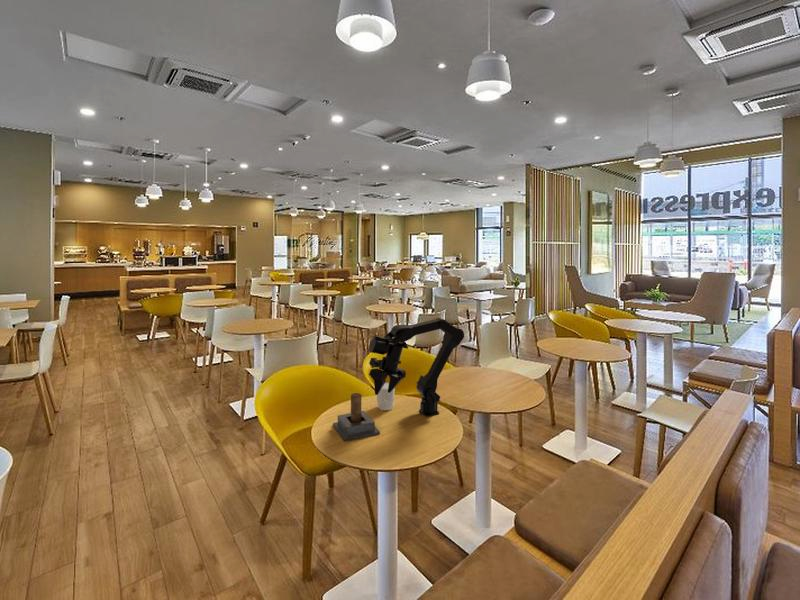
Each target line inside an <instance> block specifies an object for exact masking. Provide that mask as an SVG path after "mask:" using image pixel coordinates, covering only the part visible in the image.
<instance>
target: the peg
mask: <svg viewBox="0 0 800 600" xmlns="http://www.w3.org/2000/svg"><path fill="white" fill-rule="evenodd" d="M361 411H362V394H361V393H359V392H358V393H357V392H355V393H352V394H350V413H351V423H356V422H361Z"/></svg>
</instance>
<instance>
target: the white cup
mask: <svg viewBox="0 0 800 600" xmlns="http://www.w3.org/2000/svg"><path fill="white" fill-rule="evenodd" d="M388 387H389V382H385V384H384V385H383V387H382V389H381V390H380V392H379V393H378V395H376V400H377V401H376V402H377V409H378V408H379V409H378V410H380V409H381V410H380V411H383V410H388V411H392V410H393V409H394V402H395V388H396V387H395V388H394V389H393V390H392V391H391V392H390V393H389V392H388ZM392 408H393V409H392Z"/></svg>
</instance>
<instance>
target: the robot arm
mask: <svg viewBox="0 0 800 600" xmlns="http://www.w3.org/2000/svg"><path fill="white" fill-rule="evenodd" d="M437 330H441V331H442V332H443V333H444V334H443V336H442V345H441V347H440V348H439V351H438V353H437V354H436V356H435V358H434V361H433V362H432V364H431V366H430V368H429V370H428V372H427V373H426V374H425V375H422V374H421V375H420V376H419V379H418V381H417V382H416V391H417V392H418V393H419V395H420V397H422V398H421V401H420V403H419V404H420V408H419V410H418V411H419V412H420V413H422V414H423V415H424V416H426V417H430V416H435V415H439V414H440V412H439V410H438V406H439V402H440V400H441V395H439V394H438V393H437V391H436V390H437V388H438V379H439V377H440V375H441V373H442V372H443V369H444V367H445V365H446V364H447V362H448V360H449V358H450V357H451V354H452V352H453V350H454V349H455V348H457V347H458V346H459V345H460V344H461V342H462V341H463V340H464V339H465V331H463V329H462V328H460V327H457V326H455V325H452V324H450V323H449V322H448V321H446V320H445V319H443V318H441V317H436V318H434V319H431V320H430V319H429V320H427V321H421V322H418V323H414V324H396V325H394V326H392V328H391V330H390V331H389V332H388V333H387V334H385V335H384V336H383V337H382V336H379V335H376V334H375V335H373V338H372V339H371V340H370V342H369V345H368V351H369V353H370V354H371V353H372V354H378V355H382V356H383V357H382V359H378V358H377V357H371V358H370V360H369V362H368V364H369V365H370V367H371V369H369V373H368V376H370V378H371V379H372V380H373V383H374V395H375V396H377V395H378V393H379V392H380V390H381V389H382V387H383V385H384V384H385V383H387V382H386V381H387V380H386V379H387V378H389V381H388V383H389V387H388V392H389V393H390V392H391V391H392V390H393V389H394V388H396V387H397V386H398V384H399V383H400V382H401V381H403V379H405V378H406V375H407V372H406V370H404V369H403V368H400V367H399V364H402V361H401V356H402V353H403V349H406V350H407V349H409V346H408V345H407V341H410V340H411V339H412V338H414V337H415V336H417V335H421V334H422V335H423V334H426V333H428V332H434V331H437ZM384 355H385V356H384Z"/></svg>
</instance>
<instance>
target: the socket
mask: <svg viewBox="0 0 800 600" xmlns="http://www.w3.org/2000/svg"><path fill="white" fill-rule="evenodd" d="M332 426H334V427H333V428H334V429H335V431H336V432H337V434H339V436H340V438H341V439H342V440H343V442H344V441H346V442H349V441H354V440H359V439H363V438H369V437H373V436H376V435H381V431H380V430H379V429H378V428H377V427H376V422H375V421H374V419H373V418H372V417H370V415H369V414H368V413H367V412H366V411H365V410H361V422H356V423H351V412H350V413H344V414H337V422H332Z"/></svg>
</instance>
